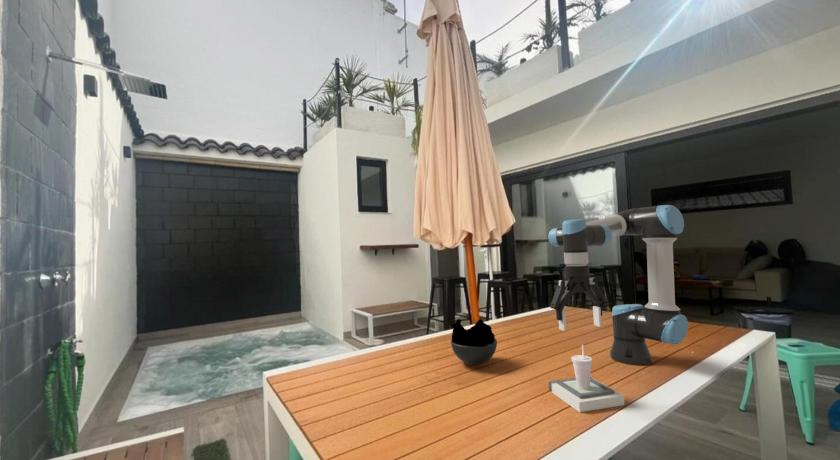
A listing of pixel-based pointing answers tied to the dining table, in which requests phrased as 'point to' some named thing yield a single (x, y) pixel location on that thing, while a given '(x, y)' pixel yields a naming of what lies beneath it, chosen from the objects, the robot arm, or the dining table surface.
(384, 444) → the dining table surface
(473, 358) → the bowl of black rocks
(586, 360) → the smoothie
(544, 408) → the dining table surface
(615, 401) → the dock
